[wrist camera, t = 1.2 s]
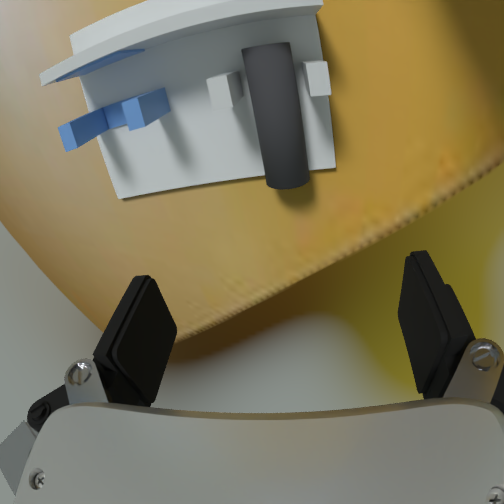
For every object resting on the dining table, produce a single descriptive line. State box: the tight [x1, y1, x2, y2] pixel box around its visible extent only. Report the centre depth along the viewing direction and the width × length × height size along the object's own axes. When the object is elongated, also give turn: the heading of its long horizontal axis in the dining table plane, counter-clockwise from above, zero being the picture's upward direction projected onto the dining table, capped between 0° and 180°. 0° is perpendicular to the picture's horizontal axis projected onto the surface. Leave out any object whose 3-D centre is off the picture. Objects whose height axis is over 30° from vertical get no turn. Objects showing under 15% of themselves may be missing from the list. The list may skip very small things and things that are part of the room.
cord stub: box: [241, 42, 310, 189], centre depth 21 cm, size 10×3×3 cm, turn 10°
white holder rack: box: [39, 0, 336, 199], centre depth 19 cm, size 16×19×6 cm
